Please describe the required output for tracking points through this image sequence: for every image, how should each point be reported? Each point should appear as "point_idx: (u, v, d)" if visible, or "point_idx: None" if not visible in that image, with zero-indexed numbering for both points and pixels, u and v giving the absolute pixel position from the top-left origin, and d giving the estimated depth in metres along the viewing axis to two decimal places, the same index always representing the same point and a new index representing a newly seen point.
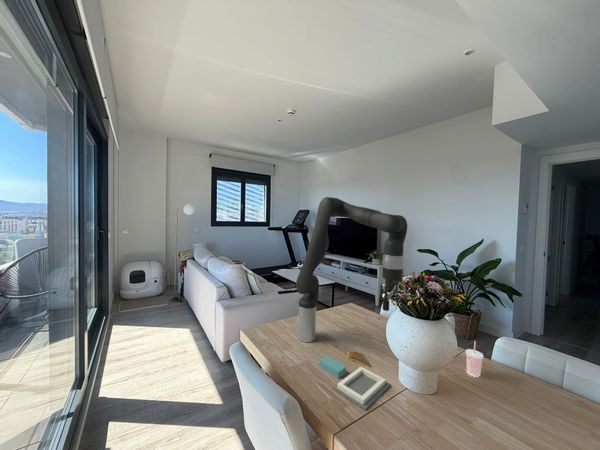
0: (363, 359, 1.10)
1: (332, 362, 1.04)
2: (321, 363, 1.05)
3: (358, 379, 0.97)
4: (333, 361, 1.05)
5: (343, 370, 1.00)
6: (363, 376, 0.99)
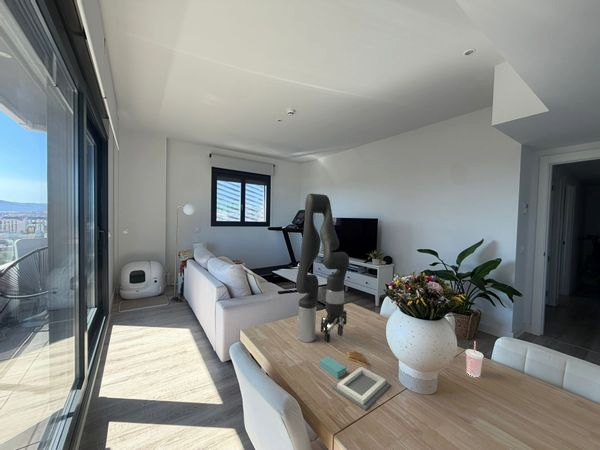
0: (363, 359, 1.10)
1: (332, 362, 1.04)
2: (321, 363, 1.05)
3: (358, 379, 0.97)
4: (333, 361, 1.05)
5: (343, 370, 1.00)
6: (363, 376, 0.99)
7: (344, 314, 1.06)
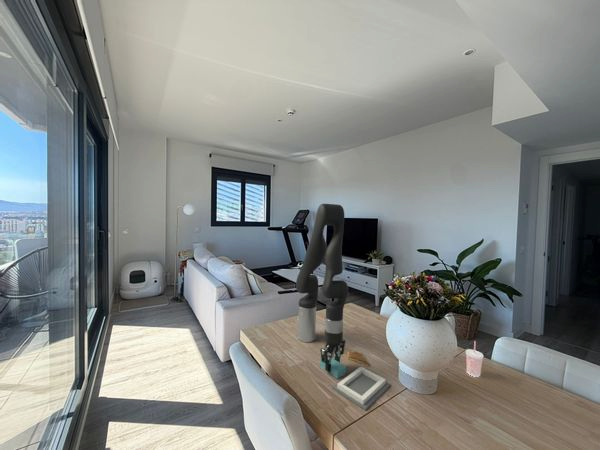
0: (363, 359, 1.10)
1: (332, 362, 1.04)
2: (321, 362, 1.05)
3: (358, 379, 0.97)
4: (333, 360, 1.05)
5: (342, 370, 1.00)
6: (363, 376, 0.99)
7: (343, 343, 1.06)
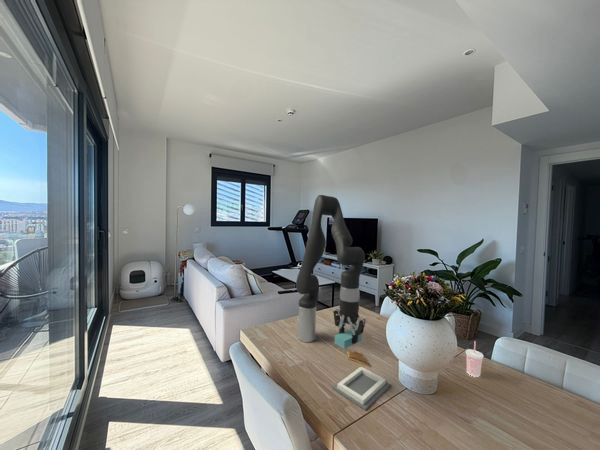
0: (363, 359, 1.10)
1: (350, 334, 0.97)
2: None
3: (358, 379, 0.97)
4: None
5: (341, 341, 0.94)
6: (363, 376, 0.99)
7: (359, 323, 0.92)
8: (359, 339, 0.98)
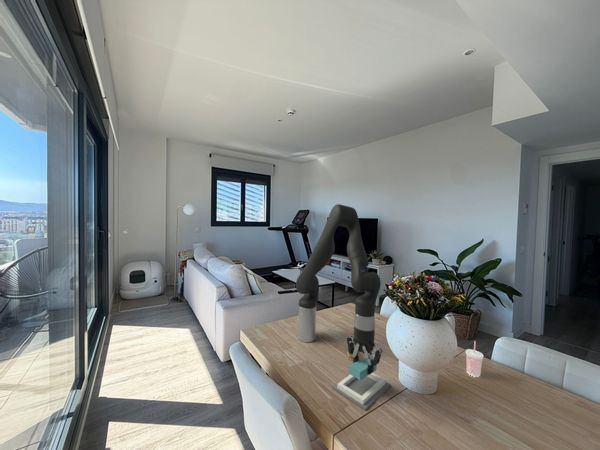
0: None
1: (365, 364, 0.93)
2: None
3: None
4: (367, 365, 0.92)
5: (356, 371, 0.89)
6: None
7: (375, 353, 0.88)
8: (374, 368, 0.93)
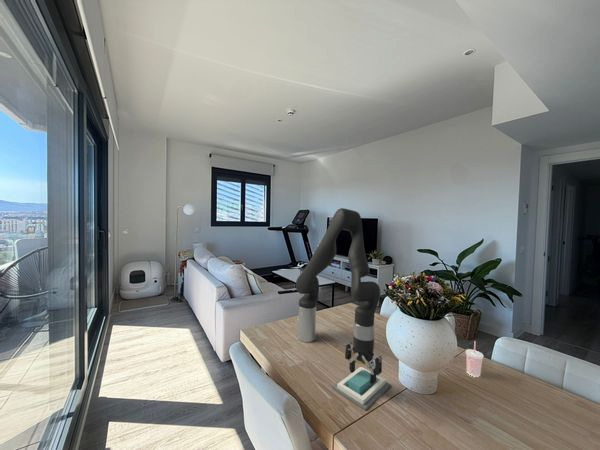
0: None
1: (364, 378, 0.93)
2: None
3: None
4: (366, 379, 0.92)
5: (355, 386, 0.89)
6: None
7: None
8: None
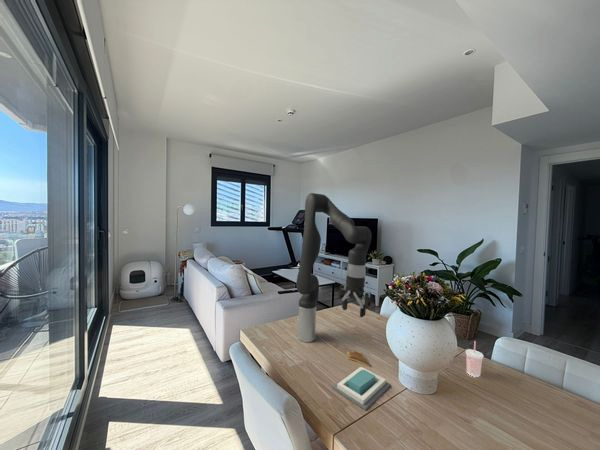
0: (363, 359, 1.10)
1: (364, 378, 0.93)
2: None
3: None
4: (366, 379, 0.92)
5: (355, 386, 0.89)
6: None
7: (365, 296, 0.97)
8: (373, 382, 0.94)
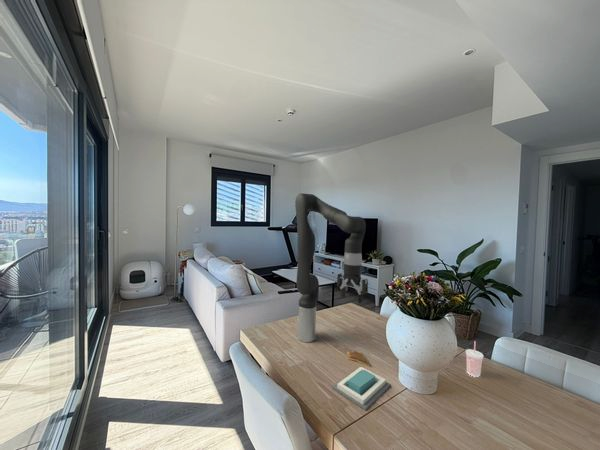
0: (363, 359, 1.10)
1: (364, 378, 0.93)
2: None
3: None
4: (366, 379, 0.92)
5: (355, 386, 0.89)
6: None
7: (362, 282, 1.02)
8: (373, 382, 0.94)
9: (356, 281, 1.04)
